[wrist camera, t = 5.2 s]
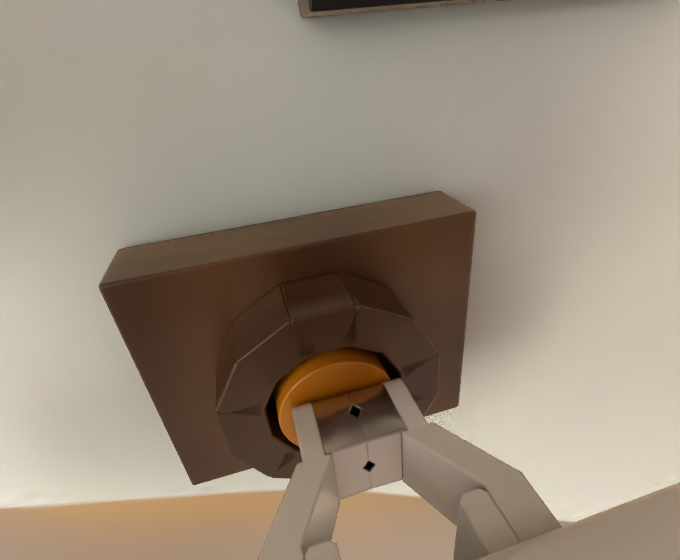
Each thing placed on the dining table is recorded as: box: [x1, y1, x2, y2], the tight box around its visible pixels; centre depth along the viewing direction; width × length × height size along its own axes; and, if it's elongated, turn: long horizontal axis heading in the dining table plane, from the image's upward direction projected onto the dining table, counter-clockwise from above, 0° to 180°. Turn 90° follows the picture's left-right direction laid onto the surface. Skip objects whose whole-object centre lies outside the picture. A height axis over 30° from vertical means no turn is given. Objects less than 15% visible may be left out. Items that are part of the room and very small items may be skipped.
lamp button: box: [274, 346, 390, 446], centre depth 11 cm, size 3×3×2 cm
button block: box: [99, 191, 476, 485], centre depth 12 cm, size 10×8×4 cm
